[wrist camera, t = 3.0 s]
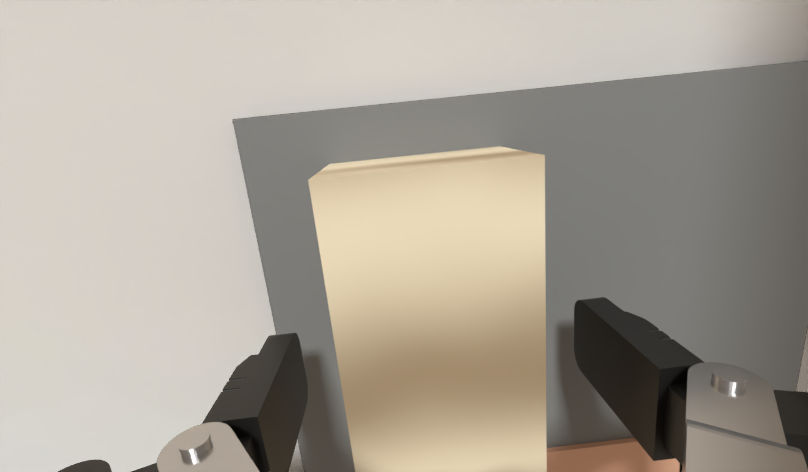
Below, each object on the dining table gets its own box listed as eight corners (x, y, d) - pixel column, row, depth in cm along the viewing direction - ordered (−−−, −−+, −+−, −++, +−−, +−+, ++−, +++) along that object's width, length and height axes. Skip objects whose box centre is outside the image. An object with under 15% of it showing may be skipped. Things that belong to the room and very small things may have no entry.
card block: (329, 164, 12) (308, 179, 9) (499, 146, 12) (544, 155, 9) (370, 445, 15) (366, 542, 11) (509, 429, 15) (546, 520, 11)
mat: (240, 119, 12) (229, 118, 11) (836, 58, 12) (865, 54, 12) (349, 669, 18) (347, 693, 18) (739, 619, 19) (754, 640, 18)
